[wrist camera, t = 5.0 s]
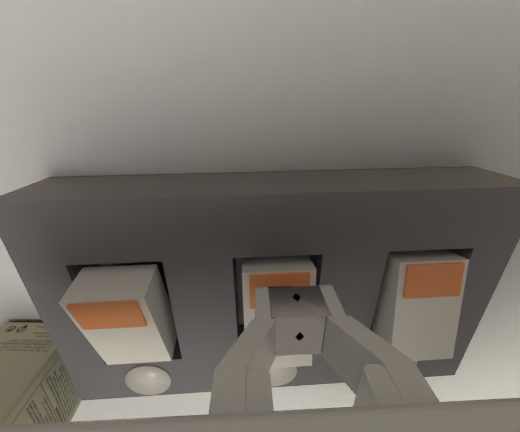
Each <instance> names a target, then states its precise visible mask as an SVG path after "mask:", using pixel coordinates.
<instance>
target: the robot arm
mask: <svg viewBox="0 0 520 432" xmlns="http://www.w3.org/2000/svg"><path fill="white" fill-rule="evenodd" d="M304 354H322V355H321V356H322V357H323V358H324V359H325V360H326V361H327V362H328V364H329V365H330V366H331V367H332V368H333V369H334V370H335V372H336V373H337V374H338V375H339V376H340V377H341V378H342V380H343V381H344V382H345V383H346V384H347V385H348V386H349V388H350V389H351V390H352V391H353V392H354V393H355V395H356V398H355V402H354V405H353V407H341V408H322V409H303V410H284V411H273V400H272V389H271V379H270V373H269V370H270V368H271V366H272V363H273V361H274V359H275V356H285V355H304ZM0 432H520V398H507V399H488V400H469V401H450V402H439V400H438V398H437V397H436V395H435V394H434V392H433V391H432V389H431V388H430V386H429V384H428V383H427V381H426V380H425V378H424V377H423V375H422V374H421V372H420V370H419V369H418V367H417V366H416V364H415V363H414V361H413V360H411V359H410V358H408V357H407V356H406V355H404V354H403V353H402V352H400V351H399V350H397V349H396V348H395V347H393V346H392V345H390V344H389V343H388V342H386V341H385V340H384V339H382V338H381V337H379V336H378V335H377V334H375V333H374V332H372V331H371V330H370V329H368V328H367V327H365V326H364V325H363V324H361V323H360V322H359V321H357V320H356V319H354V318H353V317H352V316H346V313H345V311H344V309H343V307H342V305H341V303H340V301H339V299H338V297H337V295H336V292H335V290H334V288H333V286H332V285H331V284H325V285H310V286H268V287H255V319H252V320H251V322H250V323H249V324H248V326H247V327H246V328H245V330H244V331H243V332H242V334H241V335H240V336H239V338H238V339H237V340H236V342H235V343H234V344H233V346H232V347H231V348H230V350H229V351H228V352H227V354H226V355H225V356H224V358H223V359H222V360H221V362H220V363H219V364H218V366H217V367H216V368H215V370H214V377H213V384H212V392H211V400H210V408H209V415H190V416H171V417H152V418H134V419H115V420H96V421H77V422H58V423H40V424H21V425H2V426H0Z"/></svg>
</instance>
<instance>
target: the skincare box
mask: <svg viewBox="0 0 520 432" xmlns="http://www.w3.org/2000/svg"><path fill="white" fill-rule="evenodd" d="M80 402H81V398H80V396H79V394H78V392H77V390H76V388H75V386H74V384H73V382H72V380H71V378H70V376H69V374H68V372H67V370H66V368H65V366H64V364H63V362H62V360H61V358H60V356H59V354H58V352H57V350H56V348H55V346H54V344H53V342H52V340H51V338H50V336H49V334H48V332H47V330H46V328H45V326H44V323H37V322H35V323H34V322H7V323H5V324H4V325H3V326H2V327H1V328H0V426H2V425H21V424H40V423H58V422H70V421H71V419H72V417H73V416H74V414H75V412H76V410H77V408H78V406H79V404H80Z"/></svg>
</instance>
